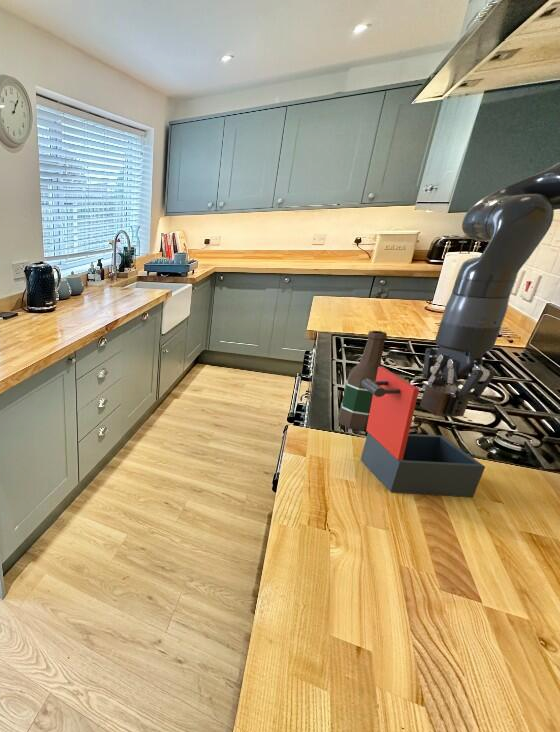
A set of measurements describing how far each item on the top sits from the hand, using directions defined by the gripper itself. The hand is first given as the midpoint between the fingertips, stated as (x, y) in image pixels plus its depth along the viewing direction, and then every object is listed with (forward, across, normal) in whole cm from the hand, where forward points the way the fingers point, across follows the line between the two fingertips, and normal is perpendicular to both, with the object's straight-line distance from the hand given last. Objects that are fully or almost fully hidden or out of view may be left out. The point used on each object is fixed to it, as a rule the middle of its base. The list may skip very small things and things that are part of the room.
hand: (441, 409), depth 78 cm
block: (0, 0, 0) cm, 0 cm away
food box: (+15, 0, +1) cm, 15 cm away
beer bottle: (+16, +23, +1) cm, 28 cm away
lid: (+1, 0, +8) cm, 8 cm away
